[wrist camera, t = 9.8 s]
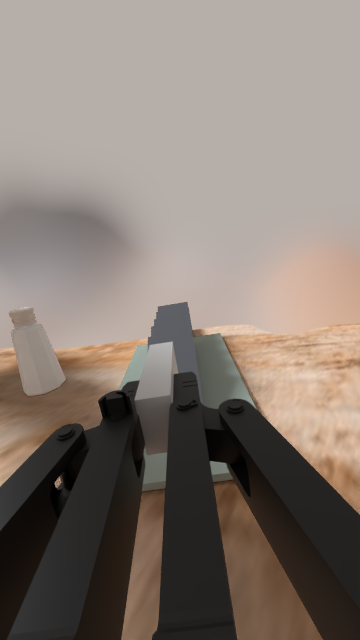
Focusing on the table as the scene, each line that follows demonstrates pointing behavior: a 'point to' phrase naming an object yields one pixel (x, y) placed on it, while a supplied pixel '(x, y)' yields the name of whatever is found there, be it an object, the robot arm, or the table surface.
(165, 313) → the domino
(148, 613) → the table surface
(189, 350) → the domino
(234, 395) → the felt mat
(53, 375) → the salt shaker
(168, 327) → the domino
